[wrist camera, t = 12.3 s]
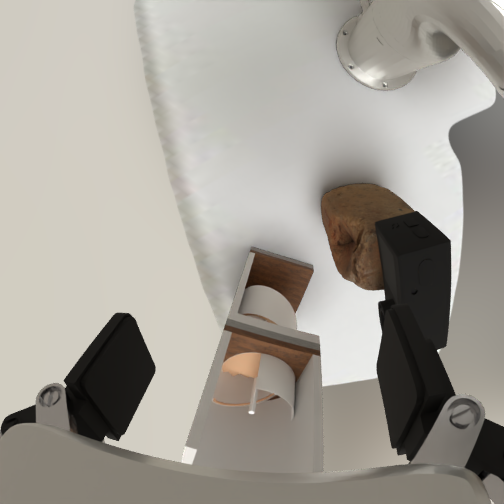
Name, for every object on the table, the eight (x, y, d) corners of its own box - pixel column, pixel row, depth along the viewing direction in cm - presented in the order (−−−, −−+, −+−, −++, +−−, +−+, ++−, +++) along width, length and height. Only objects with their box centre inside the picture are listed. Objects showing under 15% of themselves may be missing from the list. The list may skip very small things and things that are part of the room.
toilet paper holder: (290, 317, 54) (275, 505, 22) (235, 301, 54) (176, 483, 22) (313, 265, 49) (323, 473, 17) (251, 246, 49) (185, 446, 17)
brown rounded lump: (387, 182, 41) (445, 227, 23) (384, 228, 44) (432, 295, 26) (318, 182, 43) (336, 228, 25) (319, 229, 46) (333, 301, 28)
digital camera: (361, 223, 24) (381, 259, 18) (416, 209, 23) (451, 240, 17) (375, 316, 28) (390, 364, 22) (423, 303, 27) (446, 347, 20)
